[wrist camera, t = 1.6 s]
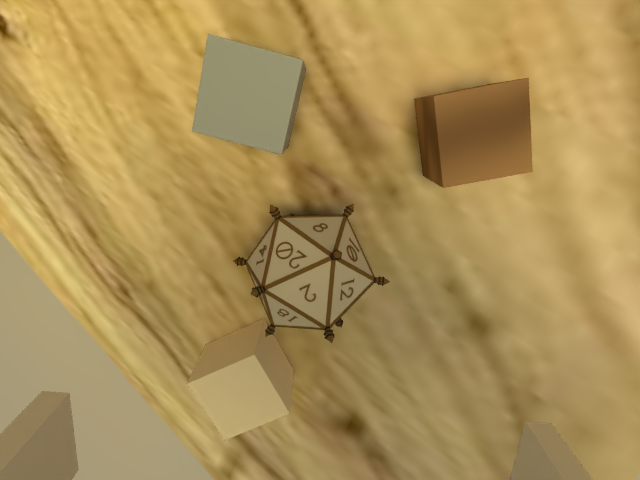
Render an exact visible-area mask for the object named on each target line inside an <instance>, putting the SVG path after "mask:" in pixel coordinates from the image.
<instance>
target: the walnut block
mask: <svg viewBox="0 0 640 480" xmlns="http://www.w3.org/2000/svg"><path fill="white" fill-rule="evenodd" d="M414 102H415V111H416V119H417V128H418V136H419V145H420V154H421V162H422V171H423V176H425V177H426V178H428V179H430V180H431V181H433V182H435V183H436V184H438V185H439V186H441V187H443V188H445V187H451V186H456V185H462V184H467V183H473V182H478V181H484V180H489V179H495V178H500V177H506V176H511V175H517V174H522V173H528V172H532V149H531V125H530V101H529V78H524V79H518V80H512V81H506V82H500V83H493V84H488V85H483V86H478V87H473V88H467V89H462V90H457V91H452V92H447V93H442V94H436V95H431V96H426V97H421V98H416V99H414Z"/></svg>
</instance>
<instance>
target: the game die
mask: <svg viewBox="0 0 640 480" xmlns="http://www.w3.org/2000/svg"><path fill="white" fill-rule="evenodd" d="M353 205H354V204H352V205H349V206H346V209H345V210H344V214H343V215H301V216H295V215H292V214H290V216H280V212H279V211H278V208H277V207H274V206H272V205H271V204H270V212H269V213H271V214H272V217H274V218H275V220H274V222H273V223H272V225H271V226H270V228H269V229H268V230H267V232H266V233H265V235H264V236H263V238H262V239H261V240H260V242H259V243H258V245H257V246H256V248H255V249H254V251H253V252H252V253H251V255H250V256H249V258H248V259H247V260H245V259H244V258H240V257H239V258H237V259H235V260H233V261H234V262H235V263H236V264H237V265H241V266H243V265H246V267H247V269H248V271H249V274H250V276H251V278H252V281H253V283H254V285H255V288H252V292H251V295H254V296H255V297H258V296H259V297H260V299H261V301H262V304H263V306H264V308H265V311H266V313H267V315H268V318H269V320H270V322H271V325H270V326H268V327H267V329H265V337H267V336H269V335H273V332H274V331H275V330H274V329H275V327H289V328H304V329H319V330H325V333H324V335H325V339H327V340H329V341H330V342H331V343H332V341H333V338H334V334H333V330H331V329H330V328H331V327H332V326H333V325H334V324H336V326H337V327H338V326H339V327H342V324H343V320H341V319H342V318H341V317H342V316H343V315H344V313H345V312H346V311H347V310H348V309H349V308H350V307H351V306H352V305H353V304H354V303H355V302H356V301H357V300H358V299H359V298H360V297H361V296H362V295H363V294H364V293H365V292H366V291H367V290H368V289H369V288H370V287H371V286H372V285H373V283H377V284H378V285H379V284H380V285H382V286H383V285H384V284H386V283H389V281H388V280H387V279H385V278H384V277H377V278H376V277H375V276H374V274H373V272H372V270H371V268H370V266H369V263H368V261H367V259H366V257H365V255H364V253H363V251H362V248H361V246H360V244H359V242H358V240H357V238H356V235H355V233H354V231H353V229H352V227H351V225H350V222H349V220H348V216H349V215H351V213H352V212H353Z"/></svg>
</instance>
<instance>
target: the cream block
mask: <svg viewBox="0 0 640 480" xmlns="http://www.w3.org/2000/svg"><path fill="white" fill-rule="evenodd" d="M267 327H268V325H267V323H266V321H265V320H264V319H262V320H260V321H257V322H255V323H253V324H251V325H248V326H246V327H244V328H242V329H239V330H237V331H235V332H233V333H230V334H228V335H226V336H224V337H221V338H219V339H217V340H214V341H212V342H210V343H208V344H206V345H205V347H204V349H203V351H202V354H201V356H200V358H199V360H198V362H197V364H196V366H195V368H194V370H193V372H192V374H191V376H190V378H189V380H188V383H187V385H188V386H189V388H190V389H191V391H192V392H193V394H194V395H195V397H196V398H197V400H198V401H199V403H200V404H201V406H202V407H203V409H204V410H205V412H206V413H207V415H208V416H209V418H210V419H211V421H212V422H213V424H214V425H215V427H216V428H217V430H218V431H219V433H220V434H221V436H222V437H223V439H224V440H227V439H229V438H232V437H234V436H237V435H239V434H242V433H244V432H246V431H249V430H251V429H254V428H256V427H259V426H261V425H264V424H266V423H268V422H271V421H273V420H276V419H278V418H281V417H283V416H286V415H288V414H290V407H291V396H292V386H293V376H294V370H293V368H292V367H291V365H290V363H289V361H288V360H287V358H286V356H285V354H284V353H283V351H282V349H281V347H280V346H279V344H278V342H277V340H276V339H275V337H274V335H269V336H267V337H265V329H267Z"/></svg>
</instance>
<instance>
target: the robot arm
mask: <svg viewBox="0 0 640 480" xmlns="http://www.w3.org/2000/svg"><path fill="white" fill-rule="evenodd" d="M77 471H78V463H77V454H76V445H75V437H74V429H73V420H72V411H71V403H70V395H69V393H61V392H45V391H42V392H41V393H40V394H39V395H38V396H37V397H36V398H35V399H34V400H33V401H32V402H31V403H30V404H29V405H28V406H27V407H26V408H25V409H24V410H23V411H22V412H21V413H20V414H19V415H18V416H17V417H16V418H15V420H14V421H13V422H12V423H11V424H10V425H9V426H8V427H7V428H6V429H5V430H4V431H3V432H2V433H1V434H0V480H72V479H73V477H74V476H75V474H76V473H77ZM510 480H593V479H592V478H591V477H590V475H589V474H588V473H587V471H586V470H585V468H584V467H583V466H582V464H581V463H580V462H579V460H578V459H577V458H576V456H575V455H574V453H573V452H572V451H571V449H570V448H569V447H568V445H567V444H566V442H565V441H564V440H563V438H562V437H561V436H560V434H559V433H558V432H557V430H556V429H555V427H554V426H553V425H552V423H541V422H525V425H524V429H523V433H522V436H521V440H520V444H519V448H518V451H517V455H516V459H515V463H514V466H513V470H512V474H511V478H510Z"/></svg>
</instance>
